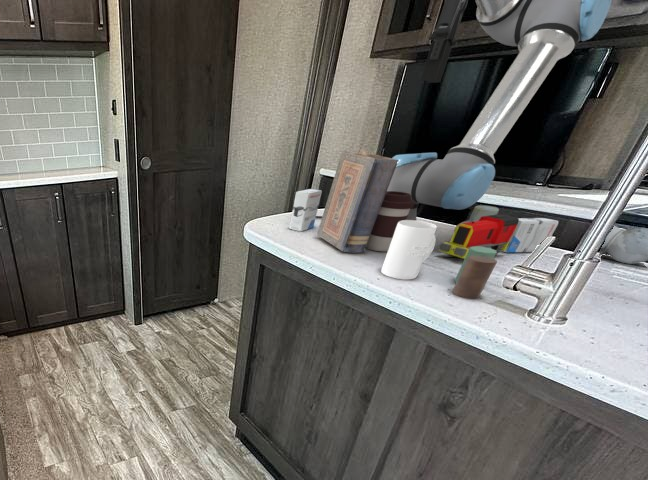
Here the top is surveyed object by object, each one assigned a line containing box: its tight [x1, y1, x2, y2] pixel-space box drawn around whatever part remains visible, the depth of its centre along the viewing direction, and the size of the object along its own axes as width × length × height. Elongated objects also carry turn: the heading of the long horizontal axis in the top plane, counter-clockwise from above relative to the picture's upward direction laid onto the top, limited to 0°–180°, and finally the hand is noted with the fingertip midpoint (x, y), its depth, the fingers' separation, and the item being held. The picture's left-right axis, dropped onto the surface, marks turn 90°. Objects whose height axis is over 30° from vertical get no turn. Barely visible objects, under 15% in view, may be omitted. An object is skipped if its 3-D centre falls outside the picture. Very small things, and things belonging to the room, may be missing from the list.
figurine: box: [598, 225, 648, 265], centre depth 104 cm, size 10×9×15 cm
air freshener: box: [453, 204, 500, 233], centre depth 118 cm, size 11×8×10 cm
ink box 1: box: [288, 188, 323, 232], centre depth 131 cm, size 8×5×12 cm, turn 132°
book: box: [316, 149, 398, 254], centre depth 111 cm, size 17×7×25 cm, turn 7°
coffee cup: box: [365, 191, 415, 253], centre depth 112 cm, size 10×10×15 cm
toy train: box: [438, 213, 519, 260], centre depth 107 cm, size 7×19×10 cm, turn 113°
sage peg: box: [454, 246, 497, 284], centre depth 91 cm, size 5×5×8 cm
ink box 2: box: [500, 217, 559, 254], centre depth 112 cm, size 9×5×12 cm
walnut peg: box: [452, 255, 498, 299], centre depth 86 cm, size 5×5×8 cm
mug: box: [380, 219, 438, 280], centre depth 96 cm, size 8×12×12 cm
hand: (430, 81), depth 88 cm, fingers open, 13 cm apart
